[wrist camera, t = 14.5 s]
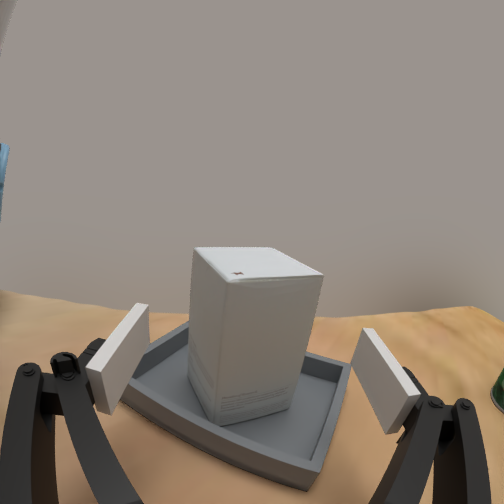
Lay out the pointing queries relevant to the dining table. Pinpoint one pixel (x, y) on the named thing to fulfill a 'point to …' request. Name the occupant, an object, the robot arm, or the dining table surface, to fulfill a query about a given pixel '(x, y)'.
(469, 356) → the dining table surface
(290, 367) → the supplement box
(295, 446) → the gray tray
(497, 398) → the canned tomato
